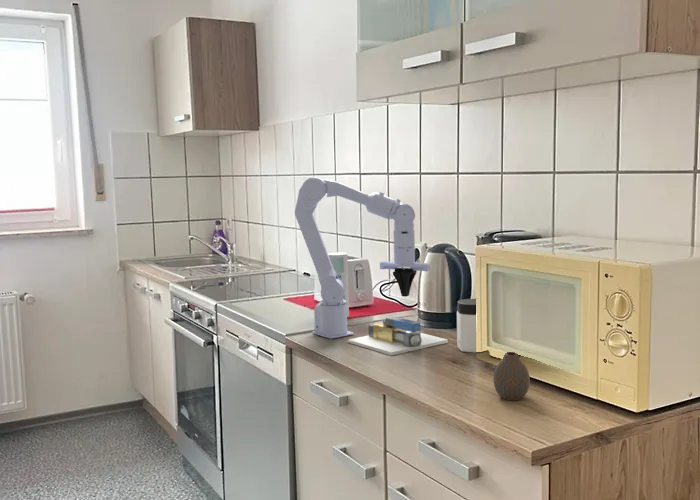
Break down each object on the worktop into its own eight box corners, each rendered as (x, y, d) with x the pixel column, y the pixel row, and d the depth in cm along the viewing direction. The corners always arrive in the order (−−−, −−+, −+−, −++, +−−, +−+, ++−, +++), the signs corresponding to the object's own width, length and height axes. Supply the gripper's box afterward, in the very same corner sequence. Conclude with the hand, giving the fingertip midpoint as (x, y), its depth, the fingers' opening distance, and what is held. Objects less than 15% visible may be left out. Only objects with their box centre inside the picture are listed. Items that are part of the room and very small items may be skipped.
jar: (472, 355, 168) (472, 306, 166) (450, 348, 174) (449, 301, 173) (499, 348, 172) (499, 301, 171) (476, 342, 179) (475, 297, 178)
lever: (380, 324, 183) (380, 316, 183) (390, 322, 185) (390, 315, 185) (411, 332, 173) (411, 324, 172) (421, 330, 175) (421, 322, 174)
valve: (366, 335, 187) (366, 322, 187) (380, 333, 190) (379, 319, 190) (410, 348, 173) (409, 333, 172) (424, 344, 176) (424, 330, 175)
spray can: (352, 315, 219) (350, 252, 217) (344, 319, 213) (342, 255, 211) (333, 314, 222) (331, 252, 219) (325, 318, 216) (323, 254, 213)
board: (348, 342, 184) (348, 339, 184) (402, 331, 195) (402, 328, 195) (391, 355, 169) (391, 352, 169) (447, 342, 180) (447, 339, 180)
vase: (507, 405, 131) (507, 359, 130) (486, 395, 137) (486, 351, 136) (537, 399, 134) (537, 355, 133) (515, 389, 140) (515, 347, 139)
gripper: (374, 247, 191) (375, 296, 192) (422, 249, 183) (423, 300, 185) (386, 245, 197) (387, 292, 198) (433, 246, 189) (433, 295, 191)
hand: (405, 295), depth 192 cm, fingers closed
